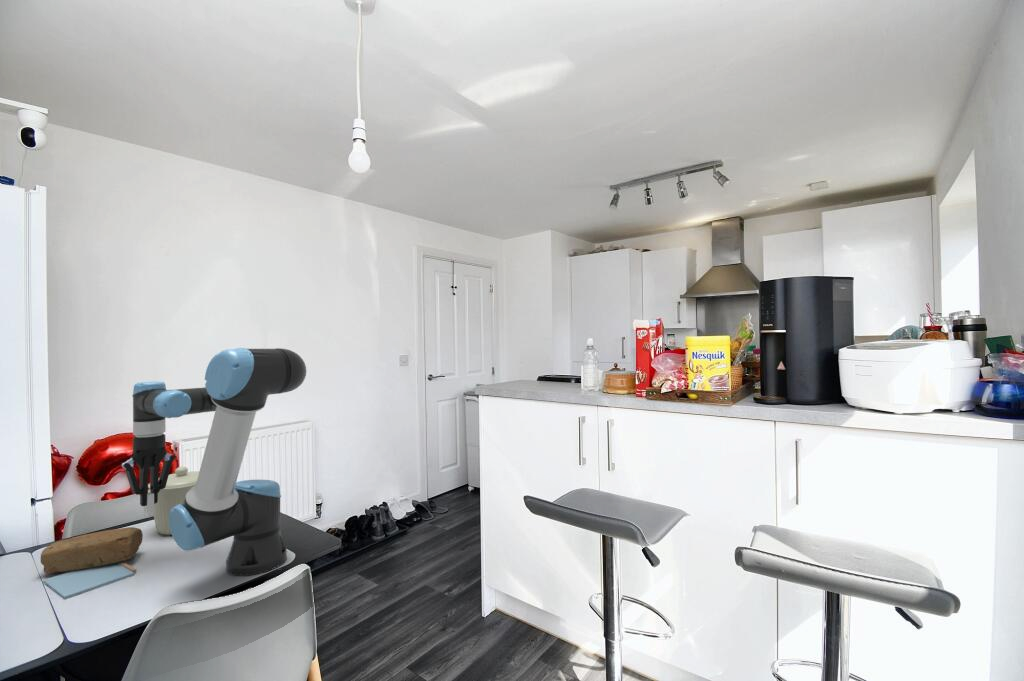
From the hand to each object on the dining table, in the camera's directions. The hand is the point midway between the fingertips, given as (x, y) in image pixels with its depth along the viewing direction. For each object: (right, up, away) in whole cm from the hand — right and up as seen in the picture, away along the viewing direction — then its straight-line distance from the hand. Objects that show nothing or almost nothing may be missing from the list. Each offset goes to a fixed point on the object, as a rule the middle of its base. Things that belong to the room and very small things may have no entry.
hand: (148, 515), depth 135 cm
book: (-7, -12, -12) cm, 18 cm away
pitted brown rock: (-3, -7, 0) cm, 8 cm away
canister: (-6, -13, +22) cm, 26 cm away
